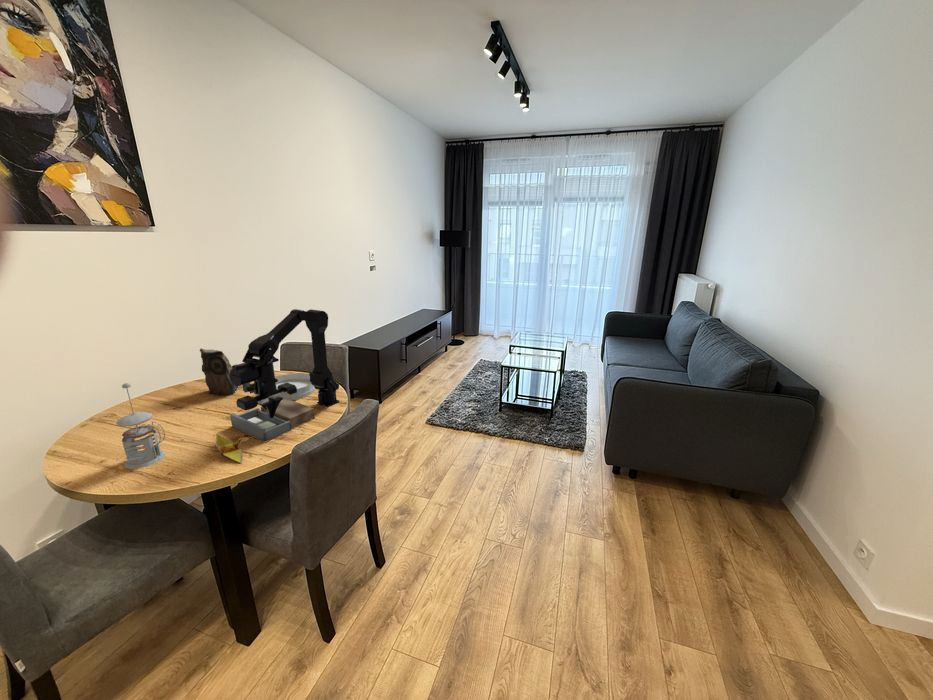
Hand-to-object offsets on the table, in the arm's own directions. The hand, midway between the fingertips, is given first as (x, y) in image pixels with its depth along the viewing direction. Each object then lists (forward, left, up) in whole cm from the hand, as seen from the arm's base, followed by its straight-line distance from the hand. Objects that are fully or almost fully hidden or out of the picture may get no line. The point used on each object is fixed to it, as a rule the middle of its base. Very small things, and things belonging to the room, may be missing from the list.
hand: (271, 417), depth 128 cm
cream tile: (+3, -8, -2) cm, 8 cm away
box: (+1, -5, -5) cm, 7 cm away
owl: (-10, -51, -5) cm, 52 cm away
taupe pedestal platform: (-9, -5, -5) cm, 11 cm away
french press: (+31, -15, -5) cm, 35 cm away
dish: (-25, -27, -5) cm, 37 cm away
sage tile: (+2, -1, -2) cm, 3 cm away
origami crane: (+16, +3, -5) cm, 17 cm away
